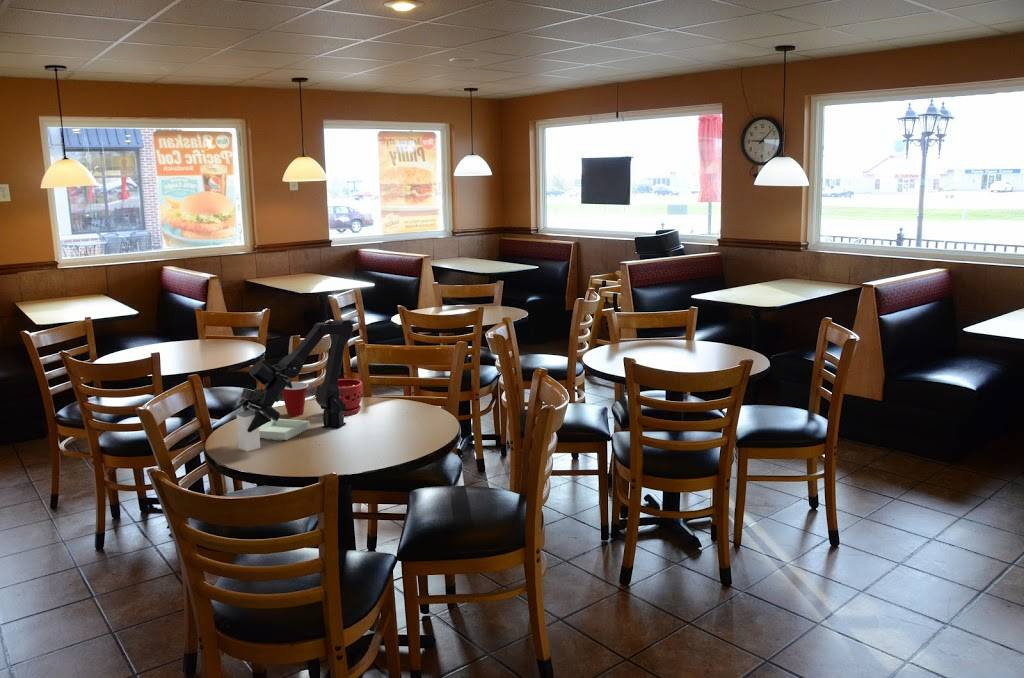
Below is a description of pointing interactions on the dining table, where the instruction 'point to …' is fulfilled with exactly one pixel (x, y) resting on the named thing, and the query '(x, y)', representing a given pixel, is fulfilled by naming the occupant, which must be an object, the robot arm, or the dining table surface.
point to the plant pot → (350, 395)
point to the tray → (282, 429)
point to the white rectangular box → (247, 438)
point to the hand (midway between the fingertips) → (244, 430)
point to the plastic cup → (295, 398)
